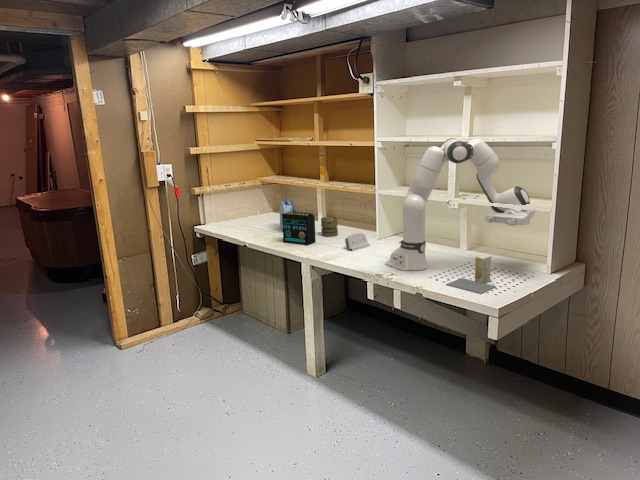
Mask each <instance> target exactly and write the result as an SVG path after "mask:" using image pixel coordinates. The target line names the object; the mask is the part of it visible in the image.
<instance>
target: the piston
mask: <svg viewBox="0 0 640 480" xmlns="http://www.w3.org/2000/svg"><path fill="white" fill-rule="evenodd" d="M320 223H321V225H320V227H321V228H320V229H321V237H325V238H332V237H333V238H334V237H338V236H339V233H338V232H339V230H338V229H339V228H338V225H339V223H338V216H337V217H336V216H334V217H333V219H327V217H326V216H323V217H320Z"/></svg>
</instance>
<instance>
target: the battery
mask: <svg viewBox="0 0 640 480" xmlns="http://www.w3.org/2000/svg"><path fill="white" fill-rule="evenodd" d="M315 216H316V215H314V212H313V211H309V212H299V211H296V212H293V211H290V212H287V213H286V214H285V213H284V214H282V221H283V230H282V240H283V243H285V244H295V245H303V246H310V245H313V244H315V243H316V220H315V219H316V218H315Z"/></svg>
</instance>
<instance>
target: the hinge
mask: <svg viewBox="0 0 640 480" xmlns="http://www.w3.org/2000/svg"><path fill="white" fill-rule="evenodd" d="M344 243H345V249H346V251H348V250H351V251H352V252H355V251H358V250H362V249H366V248H369V247H371V245H370V243H369V242H368V238H367V236H366V234H365V233H361V232H360V233H359V232H357V233H353V234H350V235H348V236H347V237H346V238H345V239H344ZM368 246H369V247H368Z"/></svg>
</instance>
